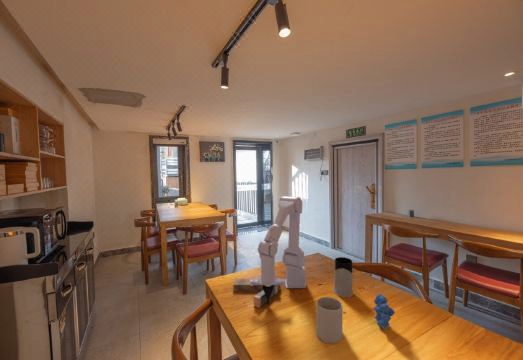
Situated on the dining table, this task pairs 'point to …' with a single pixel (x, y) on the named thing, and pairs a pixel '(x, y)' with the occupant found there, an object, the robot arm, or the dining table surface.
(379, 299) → the grapes
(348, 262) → the glass holder
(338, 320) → the mug
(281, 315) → the dining table surface
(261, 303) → the stool leg
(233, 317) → the dining table surface
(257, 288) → the rail
